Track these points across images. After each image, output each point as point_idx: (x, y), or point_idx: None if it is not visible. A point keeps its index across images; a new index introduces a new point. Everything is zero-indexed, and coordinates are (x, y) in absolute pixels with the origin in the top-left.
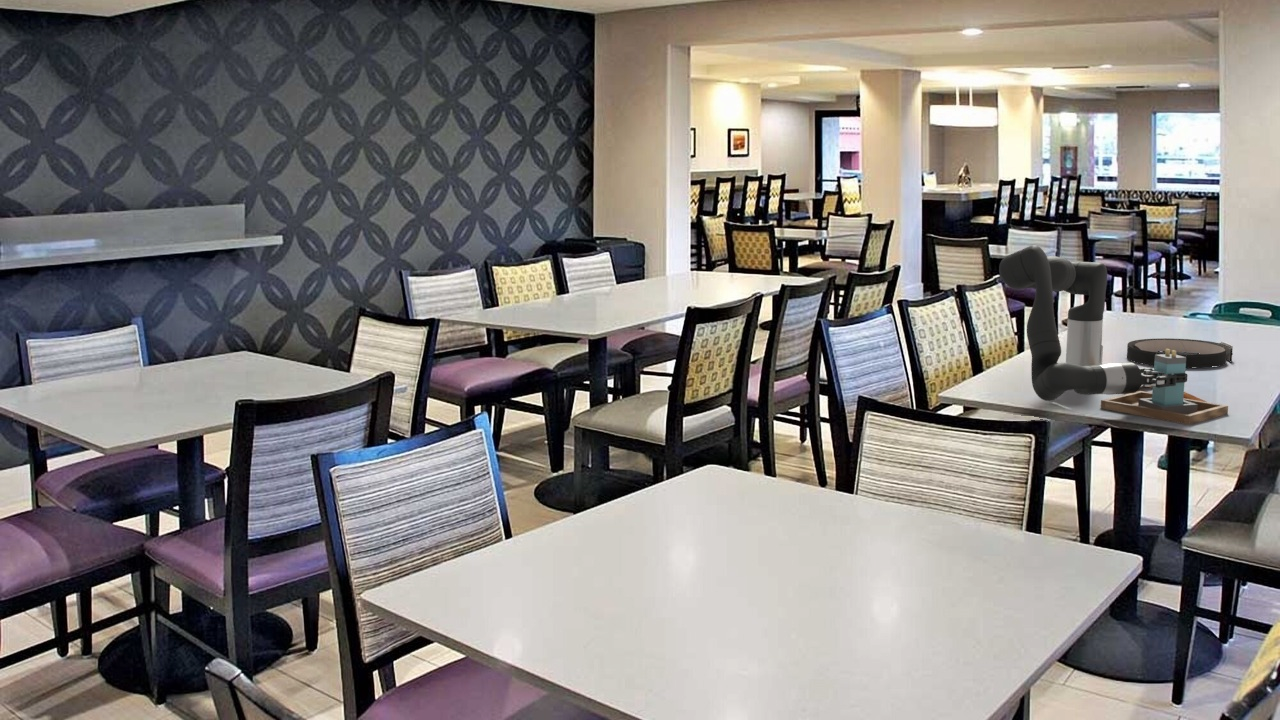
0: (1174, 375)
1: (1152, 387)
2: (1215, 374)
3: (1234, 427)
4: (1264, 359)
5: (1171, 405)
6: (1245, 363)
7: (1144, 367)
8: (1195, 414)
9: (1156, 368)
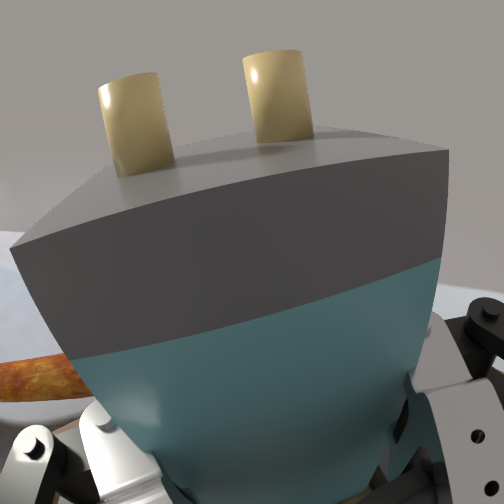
0: (494, 307)
1: (18, 401)
2: (3, 267)
3: (459, 310)
4: (8, 233)
5: (388, 456)
6: (3, 243)
7: (4, 466)
8: (498, 370)
9: (189, 428)
